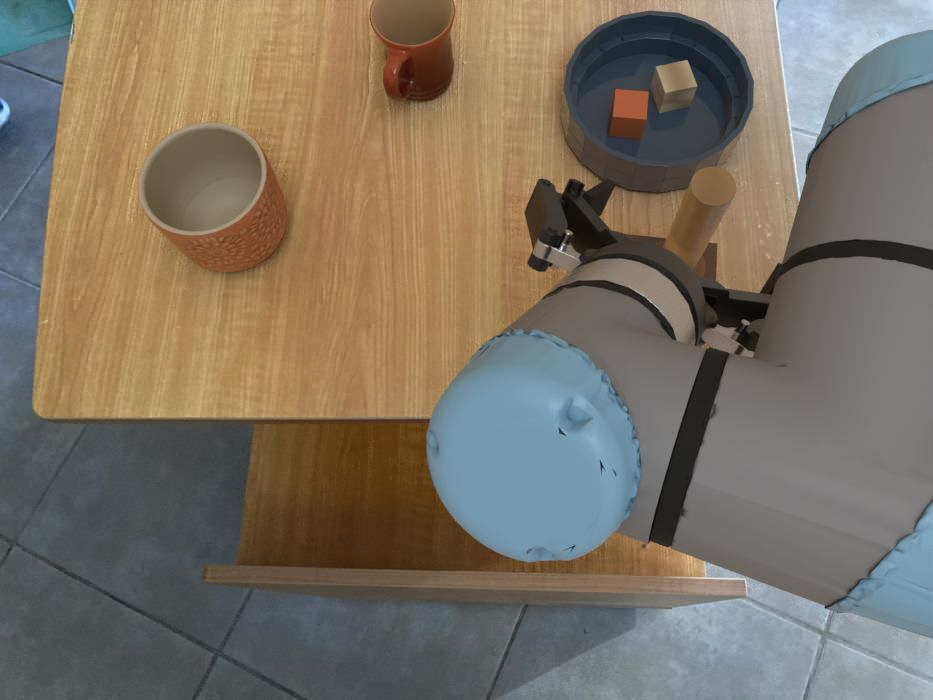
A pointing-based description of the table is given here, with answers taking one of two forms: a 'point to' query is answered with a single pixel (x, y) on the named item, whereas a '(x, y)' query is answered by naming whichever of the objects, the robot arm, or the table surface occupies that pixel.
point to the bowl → (665, 134)
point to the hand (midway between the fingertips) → (686, 237)
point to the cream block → (673, 86)
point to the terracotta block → (628, 113)
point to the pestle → (700, 216)
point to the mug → (415, 46)
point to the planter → (214, 196)
